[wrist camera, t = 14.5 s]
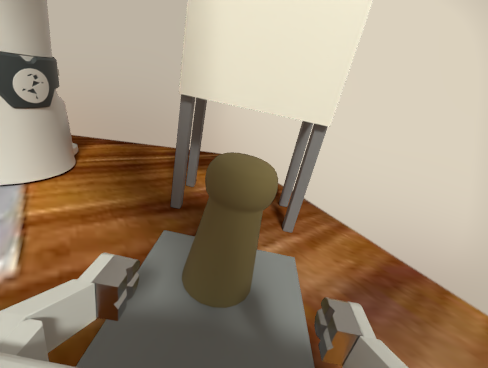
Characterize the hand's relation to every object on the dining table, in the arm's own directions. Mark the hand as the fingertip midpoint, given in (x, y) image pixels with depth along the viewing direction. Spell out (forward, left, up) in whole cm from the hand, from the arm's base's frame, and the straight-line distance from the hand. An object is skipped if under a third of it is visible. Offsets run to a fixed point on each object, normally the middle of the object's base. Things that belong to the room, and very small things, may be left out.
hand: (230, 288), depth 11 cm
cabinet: (-7, +23, -8) cm, 25 cm away
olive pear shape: (-3, +8, -8) cm, 11 cm away
